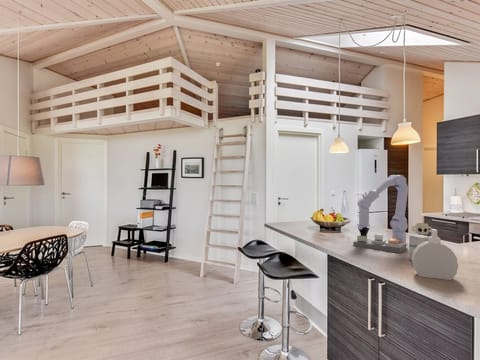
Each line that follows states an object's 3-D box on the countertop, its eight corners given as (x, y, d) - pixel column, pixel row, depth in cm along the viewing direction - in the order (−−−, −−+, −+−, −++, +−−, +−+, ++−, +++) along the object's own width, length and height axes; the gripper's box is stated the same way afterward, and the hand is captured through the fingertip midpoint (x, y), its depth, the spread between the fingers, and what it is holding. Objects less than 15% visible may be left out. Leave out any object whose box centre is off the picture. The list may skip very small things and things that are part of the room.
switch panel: (361, 242, 195) (361, 235, 195) (405, 248, 178) (405, 241, 178) (353, 245, 185) (353, 238, 185) (399, 252, 167) (399, 245, 167)
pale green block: (358, 239, 188) (359, 235, 188) (367, 240, 184) (367, 236, 184) (357, 240, 185) (357, 235, 185) (365, 241, 182) (365, 236, 182)
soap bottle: (454, 277, 126) (455, 230, 126) (458, 281, 121) (458, 232, 121) (411, 272, 132) (411, 227, 132) (413, 275, 127) (413, 229, 127)
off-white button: (376, 238, 184) (376, 233, 184) (383, 239, 181) (383, 234, 181) (373, 239, 180) (373, 234, 180) (381, 240, 177) (381, 235, 177)
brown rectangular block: (393, 242, 180) (393, 237, 180) (402, 244, 177) (402, 239, 177) (388, 245, 173) (388, 240, 173) (397, 246, 170) (397, 241, 170)
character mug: (412, 244, 190) (413, 223, 190) (410, 242, 197) (411, 222, 197) (432, 245, 186) (433, 224, 186) (430, 243, 193) (430, 223, 193)
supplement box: (408, 259, 154) (408, 235, 154) (417, 257, 157) (418, 233, 157) (422, 263, 147) (422, 237, 147) (431, 261, 150) (432, 236, 150)
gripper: (361, 216, 195) (361, 236, 195) (353, 218, 184) (352, 240, 184) (372, 217, 190) (372, 238, 190) (364, 219, 180) (364, 241, 180)
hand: (363, 239), depth 187 cm, fingers closed
